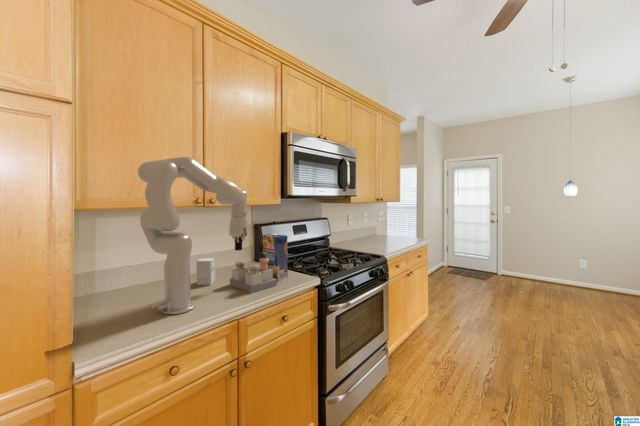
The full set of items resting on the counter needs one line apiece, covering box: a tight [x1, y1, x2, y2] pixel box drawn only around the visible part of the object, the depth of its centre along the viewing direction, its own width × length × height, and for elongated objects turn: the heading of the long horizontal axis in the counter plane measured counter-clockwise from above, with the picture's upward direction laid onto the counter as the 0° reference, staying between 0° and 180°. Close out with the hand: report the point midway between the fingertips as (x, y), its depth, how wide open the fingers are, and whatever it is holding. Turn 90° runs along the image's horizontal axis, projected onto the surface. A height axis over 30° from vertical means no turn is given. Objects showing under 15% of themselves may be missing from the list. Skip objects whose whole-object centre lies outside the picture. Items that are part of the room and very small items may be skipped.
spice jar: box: [248, 263, 260, 275], centre depth 142 cm, size 5×5×9 cm
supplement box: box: [196, 257, 216, 286], centre depth 151 cm, size 7×7×13 cm
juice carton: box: [262, 233, 289, 282], centre depth 161 cm, size 12×8×24 cm, turn 51°
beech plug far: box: [234, 260, 246, 271], centre depth 150 cm, size 5×5×9 cm
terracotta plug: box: [259, 257, 269, 271], centre depth 149 cm, size 5×5×9 cm
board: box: [229, 267, 278, 294], centre depth 149 cm, size 16×19×8 cm
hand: (238, 250), depth 148 cm, fingers closed
